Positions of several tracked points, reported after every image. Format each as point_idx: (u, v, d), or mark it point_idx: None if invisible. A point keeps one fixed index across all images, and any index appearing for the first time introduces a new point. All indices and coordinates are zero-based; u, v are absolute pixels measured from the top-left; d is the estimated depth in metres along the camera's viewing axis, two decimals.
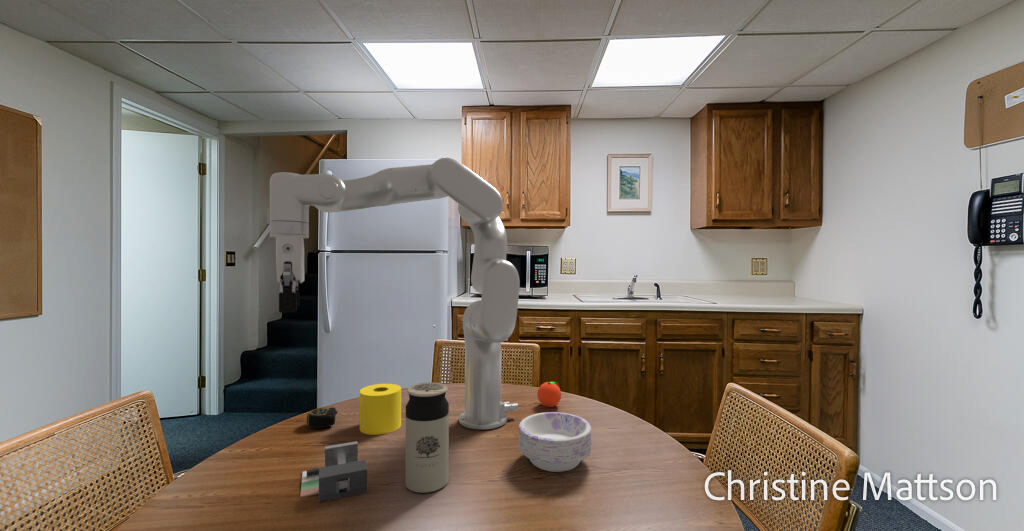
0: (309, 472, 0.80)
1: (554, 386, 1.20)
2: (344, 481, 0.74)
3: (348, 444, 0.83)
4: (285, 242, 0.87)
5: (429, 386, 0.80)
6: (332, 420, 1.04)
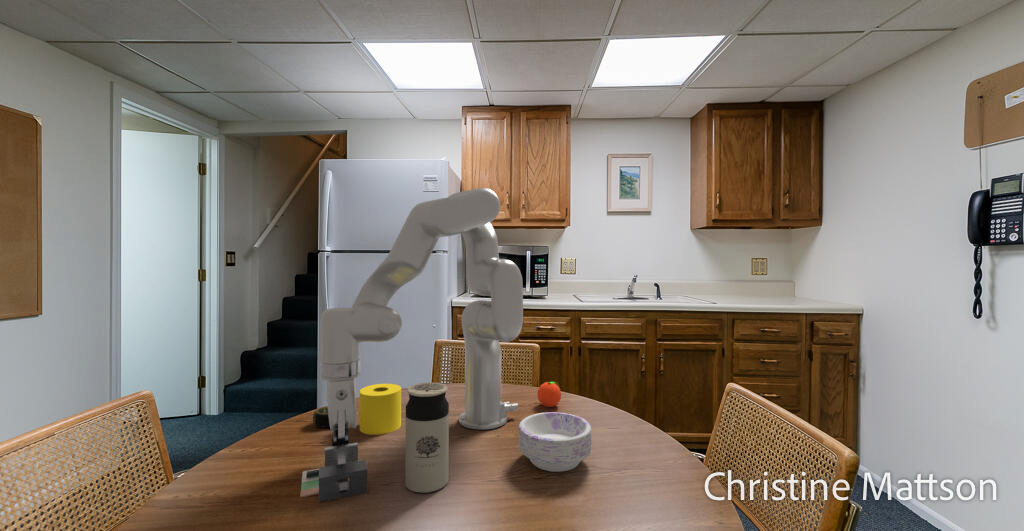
0: (309, 473, 0.80)
1: (554, 386, 1.20)
2: (344, 482, 0.74)
3: (348, 445, 0.83)
4: (339, 388, 0.81)
5: (429, 386, 0.80)
6: None
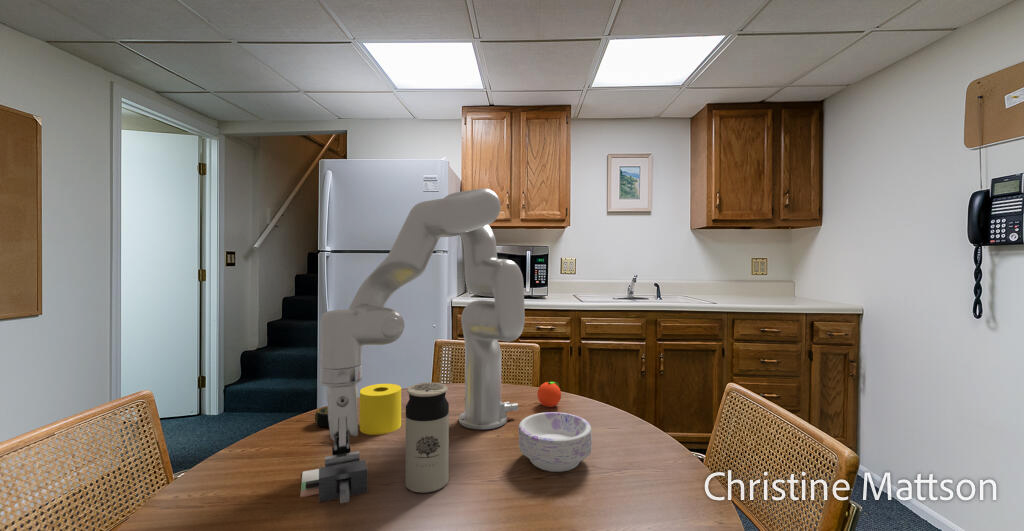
0: (308, 484, 0.76)
1: (554, 386, 1.20)
2: (345, 494, 0.70)
3: (349, 454, 0.79)
4: (339, 394, 0.77)
5: (429, 386, 0.80)
6: None
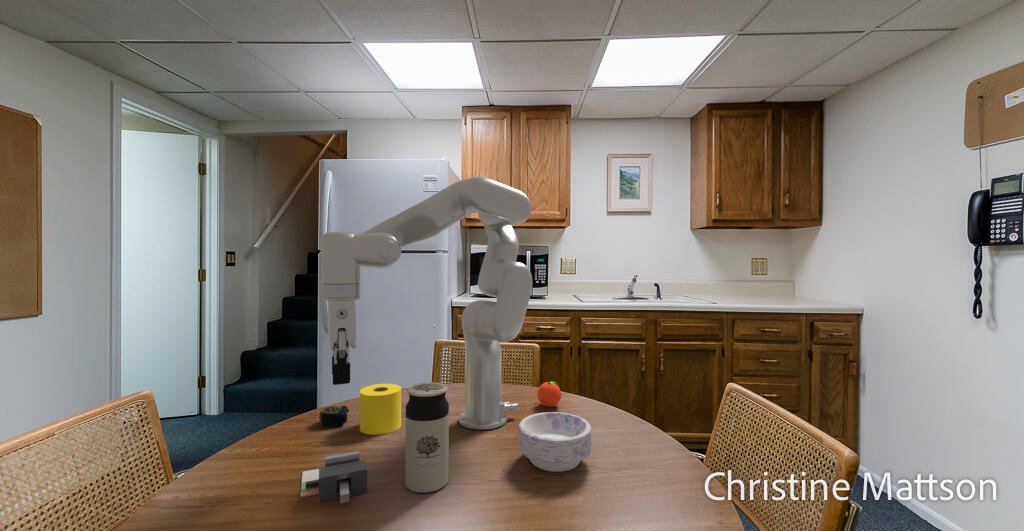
0: (308, 484, 0.76)
1: (554, 386, 1.20)
2: (346, 494, 0.70)
3: (349, 454, 0.79)
4: (339, 307, 0.82)
5: (429, 386, 0.80)
6: (344, 418, 1.06)
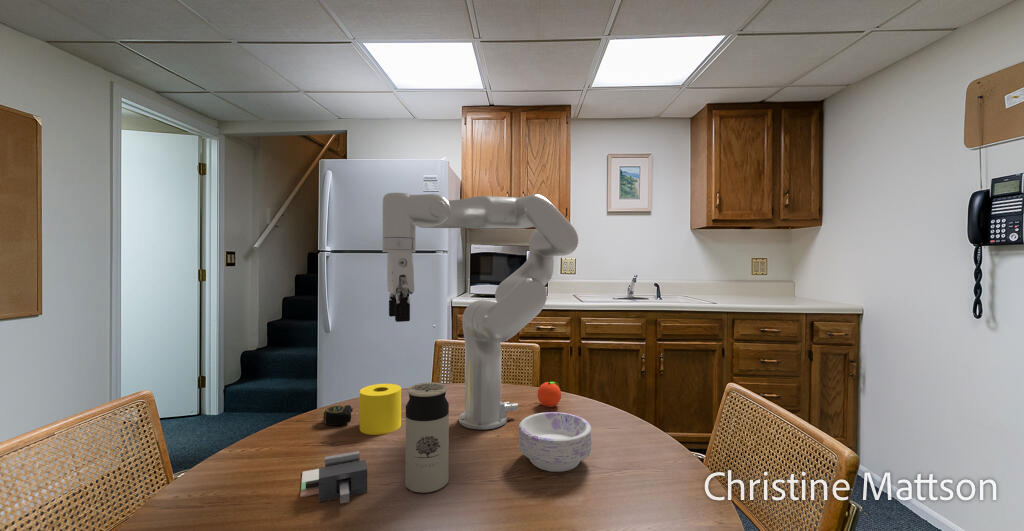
0: (308, 484, 0.76)
1: (554, 386, 1.20)
2: (346, 494, 0.70)
3: (349, 454, 0.79)
4: (400, 257, 0.94)
5: (429, 386, 0.80)
6: (348, 418, 1.06)
